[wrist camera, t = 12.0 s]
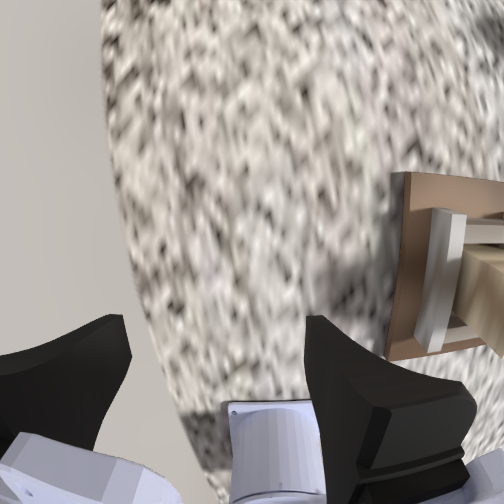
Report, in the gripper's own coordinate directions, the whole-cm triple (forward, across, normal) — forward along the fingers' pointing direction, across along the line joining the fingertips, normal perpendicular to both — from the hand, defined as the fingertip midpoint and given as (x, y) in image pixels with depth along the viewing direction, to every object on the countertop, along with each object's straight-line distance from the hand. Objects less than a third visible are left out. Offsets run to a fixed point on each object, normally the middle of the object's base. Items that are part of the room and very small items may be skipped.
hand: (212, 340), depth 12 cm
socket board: (+9, -18, +1) cm, 20 cm away
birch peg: (+8, -18, +1) cm, 19 cm away
